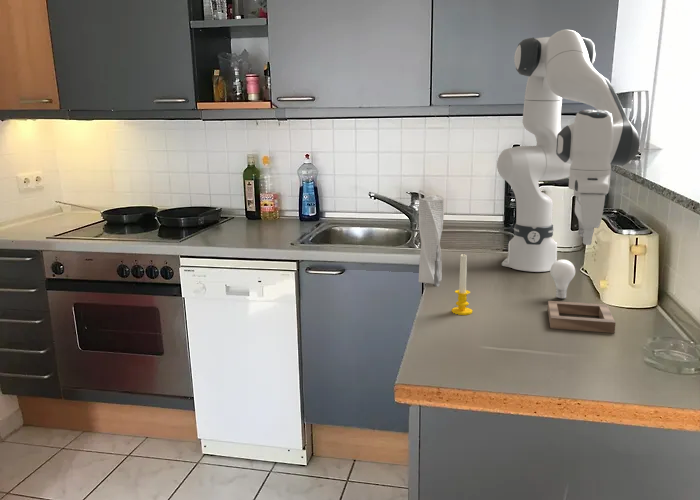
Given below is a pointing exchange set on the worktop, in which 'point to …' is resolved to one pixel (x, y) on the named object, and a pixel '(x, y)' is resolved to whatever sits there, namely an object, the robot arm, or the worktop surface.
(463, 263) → the candle
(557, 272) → the lightbulb
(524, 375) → the worktop surface
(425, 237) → the skyscraper
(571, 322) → the rectangular wooden frame
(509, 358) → the worktop surface
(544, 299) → the worktop surface
